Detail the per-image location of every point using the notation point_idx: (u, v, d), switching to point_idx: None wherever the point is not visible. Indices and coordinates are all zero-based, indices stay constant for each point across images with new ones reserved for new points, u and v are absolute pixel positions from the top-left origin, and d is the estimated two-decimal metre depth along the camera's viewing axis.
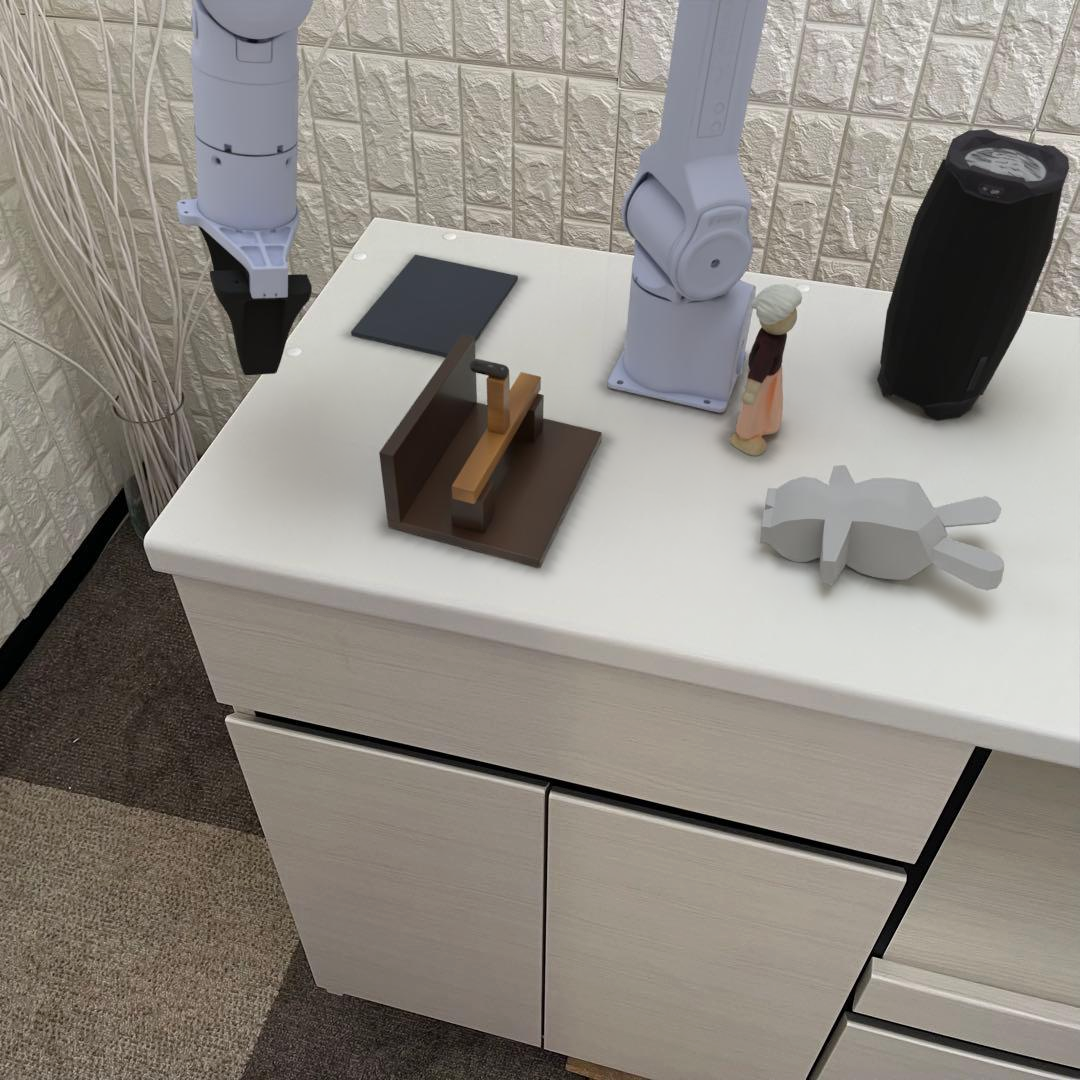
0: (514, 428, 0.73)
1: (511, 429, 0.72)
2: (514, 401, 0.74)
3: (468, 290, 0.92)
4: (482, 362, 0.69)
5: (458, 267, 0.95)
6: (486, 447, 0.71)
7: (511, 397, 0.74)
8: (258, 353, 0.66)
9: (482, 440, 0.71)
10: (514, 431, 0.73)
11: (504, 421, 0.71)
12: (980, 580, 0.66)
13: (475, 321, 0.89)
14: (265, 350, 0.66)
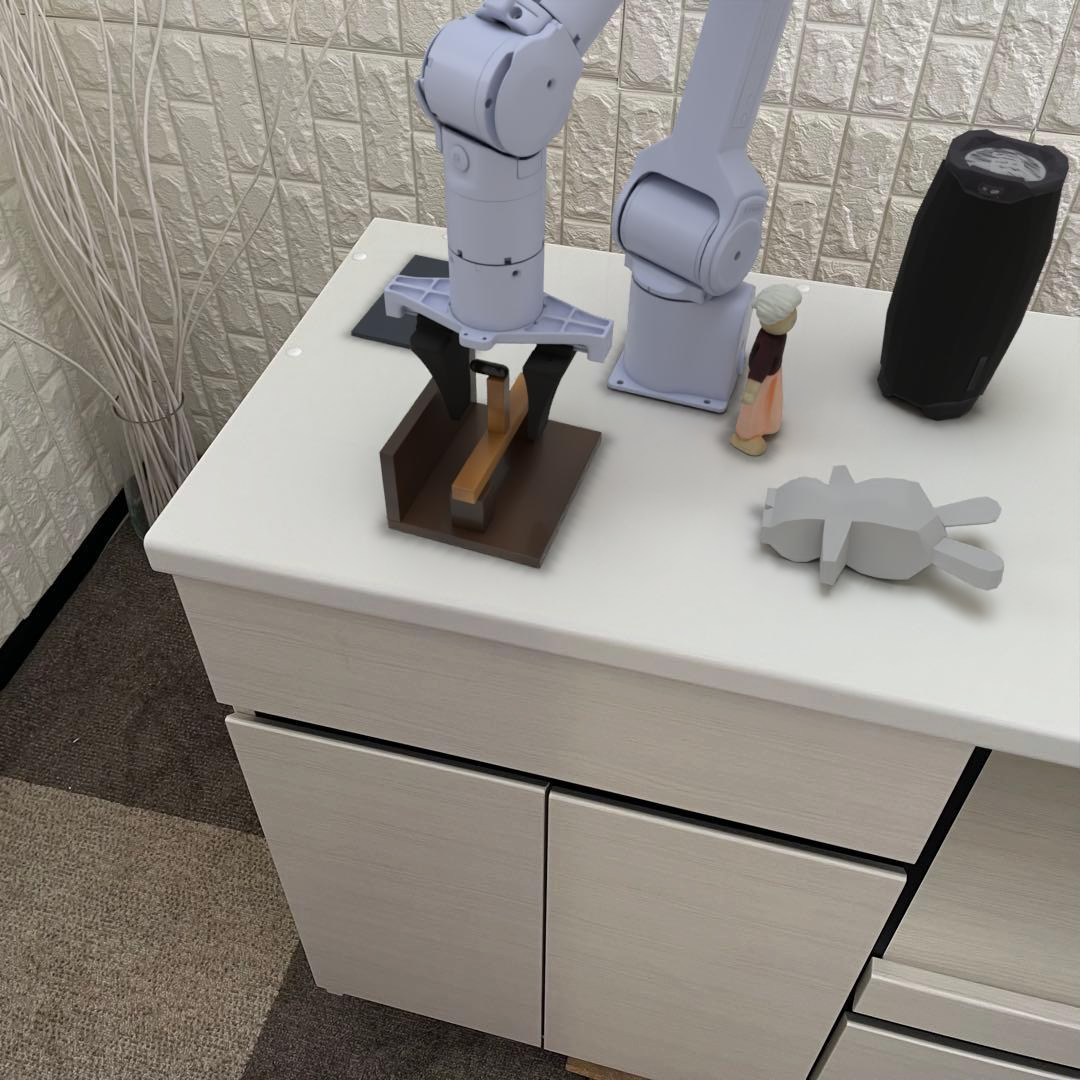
0: (514, 428, 0.73)
1: (511, 429, 0.72)
2: (514, 401, 0.74)
3: None
4: (482, 362, 0.69)
5: None
6: (486, 447, 0.71)
7: (511, 397, 0.74)
8: (544, 413, 0.70)
9: (482, 440, 0.71)
10: (514, 431, 0.73)
11: (504, 421, 0.71)
12: (980, 580, 0.66)
13: None
14: (546, 407, 0.70)
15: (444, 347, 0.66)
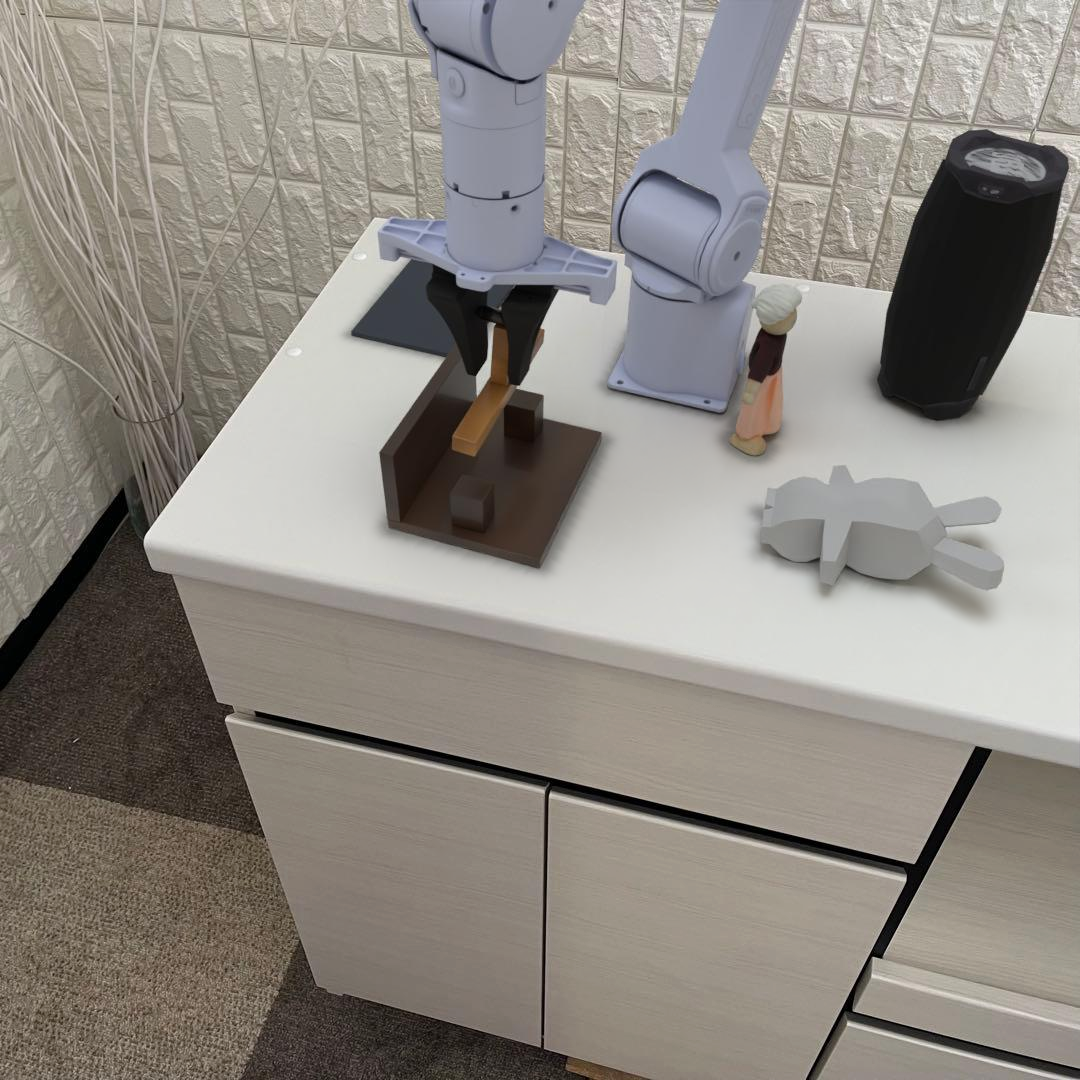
0: None
1: None
2: None
3: None
4: (490, 309, 0.66)
5: None
6: (488, 398, 0.68)
7: None
8: (525, 358, 0.67)
9: (484, 391, 0.69)
10: None
11: None
12: (980, 580, 0.66)
13: None
14: (528, 351, 0.68)
15: (462, 295, 0.63)
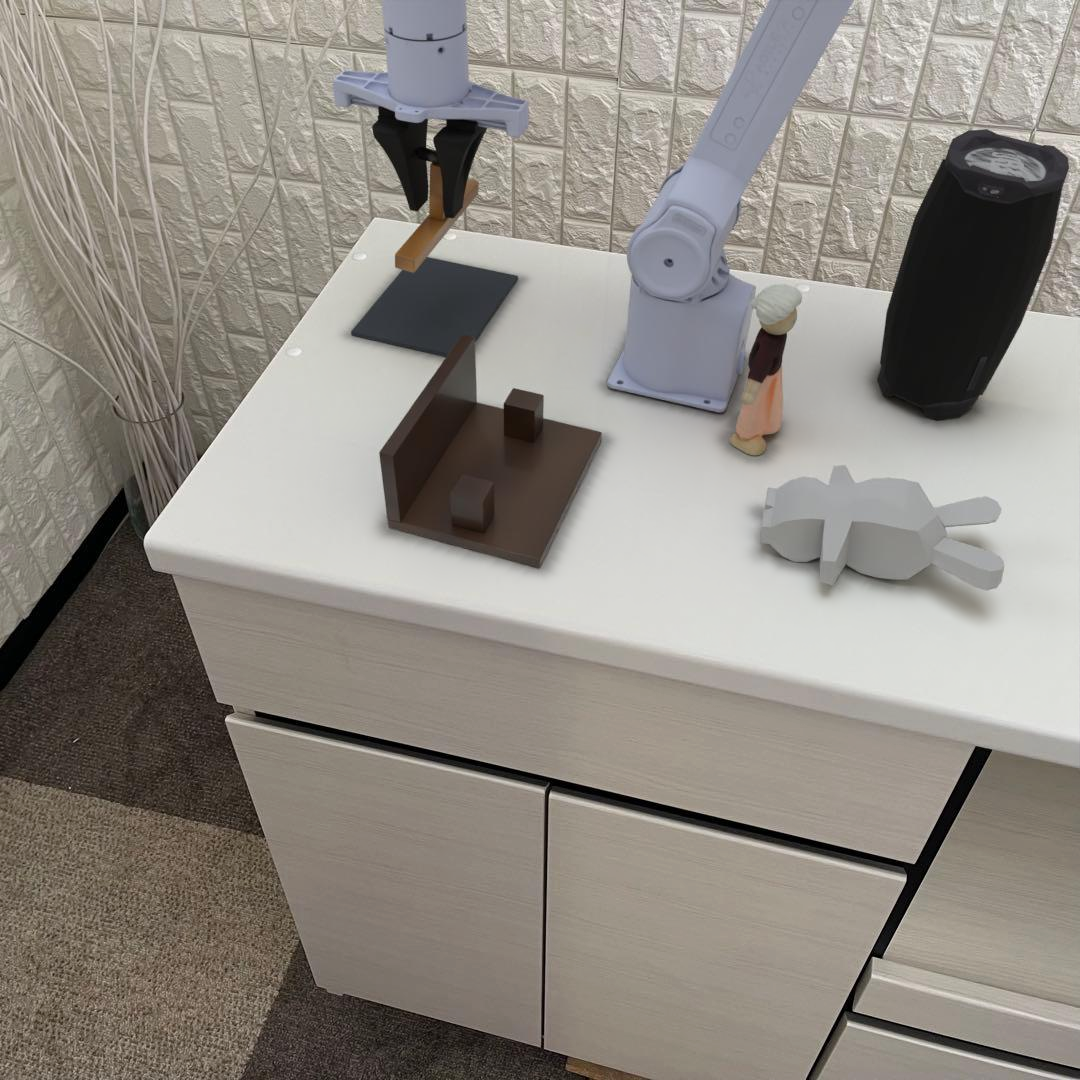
0: (452, 219, 0.83)
1: (449, 218, 0.83)
2: None
3: (468, 290, 0.92)
4: (427, 149, 0.79)
5: (458, 267, 0.95)
6: (427, 229, 0.81)
7: None
8: (458, 193, 0.81)
9: (423, 223, 0.82)
10: (452, 222, 0.84)
11: None
12: (980, 580, 0.66)
13: (475, 321, 0.89)
14: (460, 188, 0.81)
15: (402, 133, 0.76)
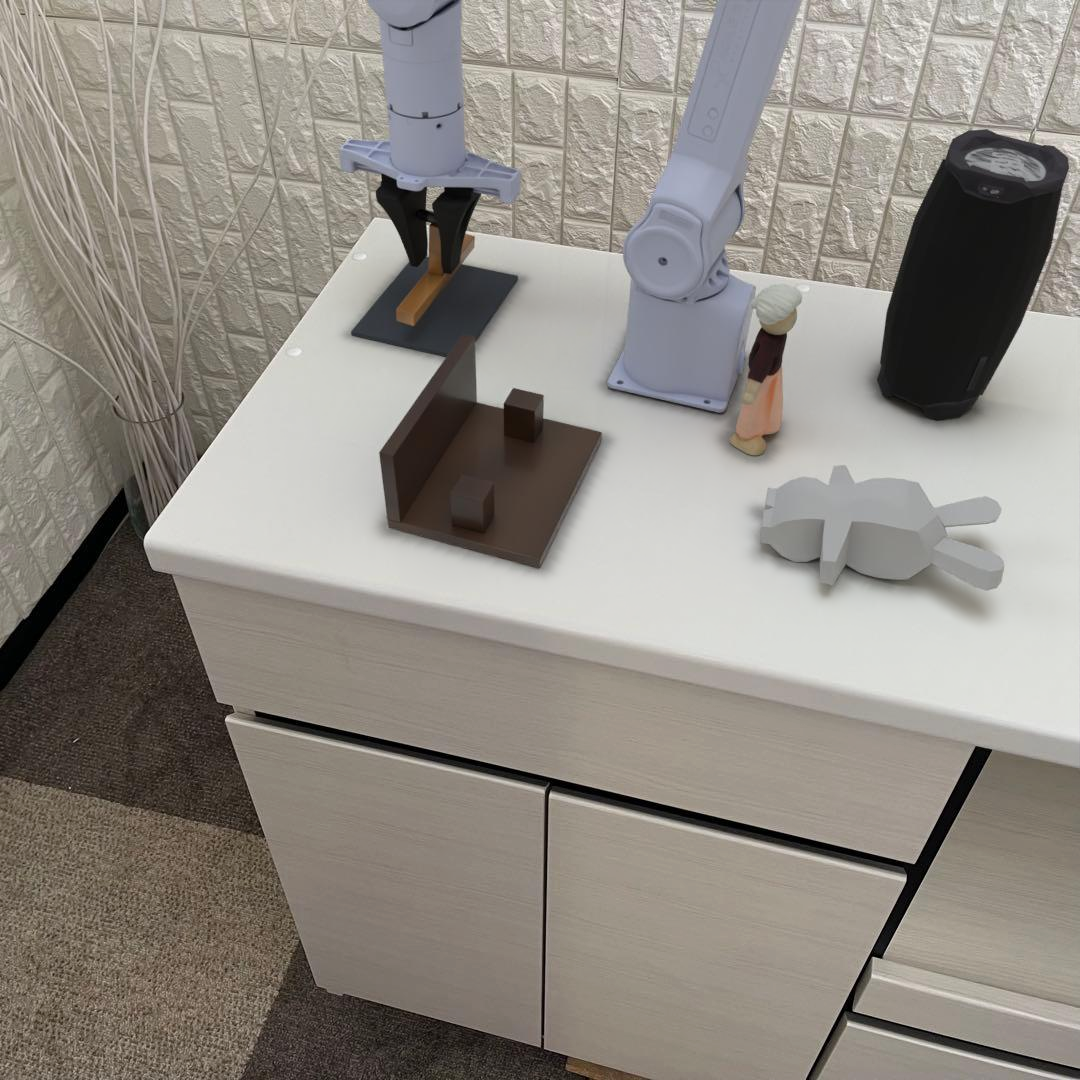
0: None
1: None
2: None
3: (468, 290, 0.92)
4: (426, 211, 0.85)
5: None
6: (426, 283, 0.87)
7: None
8: (455, 251, 0.87)
9: (423, 278, 0.88)
10: (450, 275, 0.90)
11: None
12: (980, 580, 0.66)
13: (475, 321, 0.89)
14: (457, 246, 0.87)
15: (403, 198, 0.82)
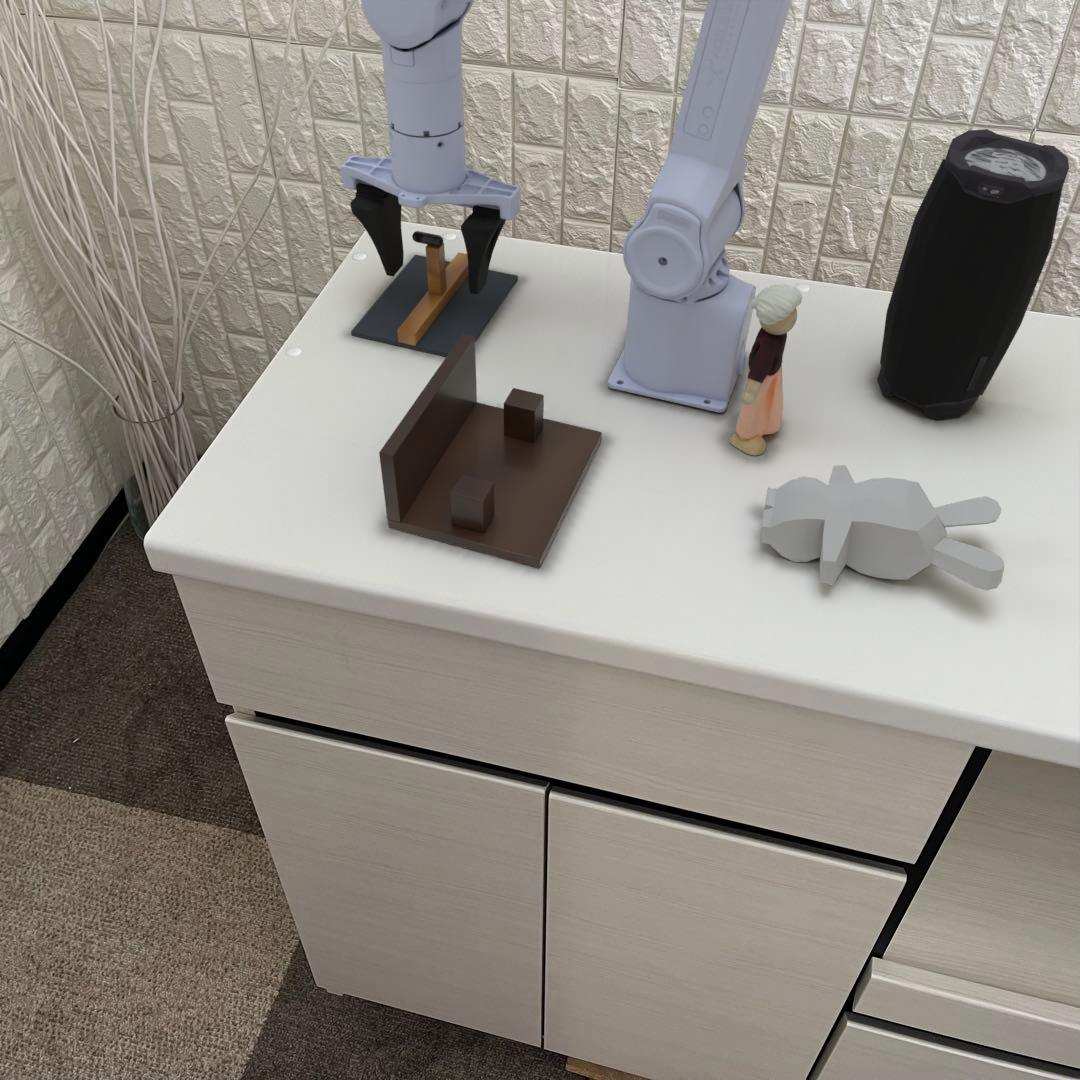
0: (450, 292, 0.91)
1: (447, 292, 0.90)
2: (451, 272, 0.92)
3: (468, 290, 0.92)
4: (422, 233, 0.86)
5: None
6: (426, 304, 0.89)
7: (449, 269, 0.92)
8: (482, 272, 0.87)
9: (423, 299, 0.89)
10: (450, 295, 0.91)
11: (441, 284, 0.89)
12: (980, 580, 0.66)
13: (475, 321, 0.89)
14: (484, 267, 0.87)
15: (377, 209, 0.84)
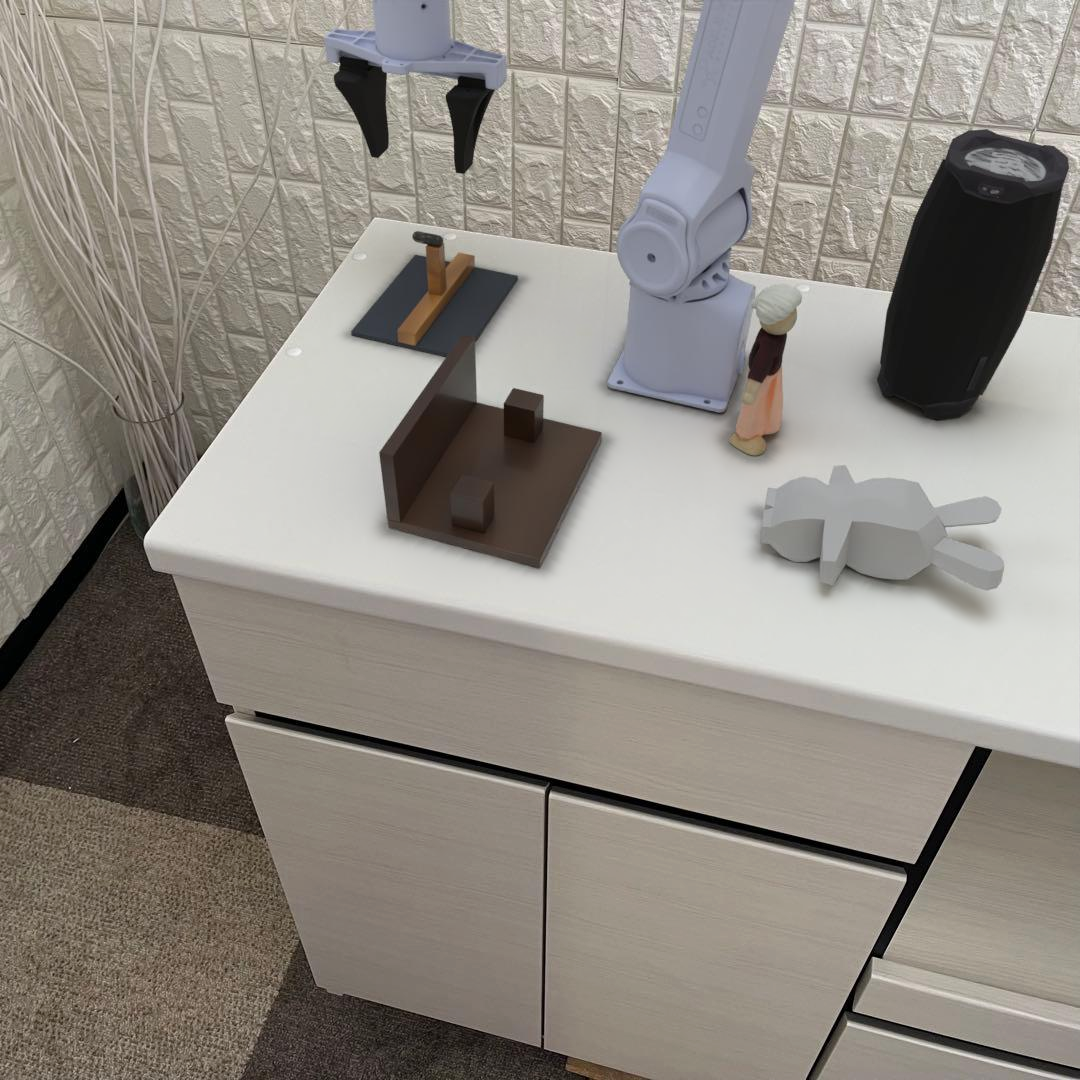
0: (450, 292, 0.91)
1: (447, 292, 0.90)
2: (451, 272, 0.92)
3: (468, 290, 0.92)
4: (422, 233, 0.86)
5: None
6: (426, 304, 0.89)
7: (449, 269, 0.92)
8: (468, 150, 0.85)
9: (423, 299, 0.89)
10: (450, 295, 0.91)
11: (441, 284, 0.89)
12: (980, 580, 0.66)
13: (475, 321, 0.89)
14: (470, 145, 0.86)
15: (361, 81, 0.82)
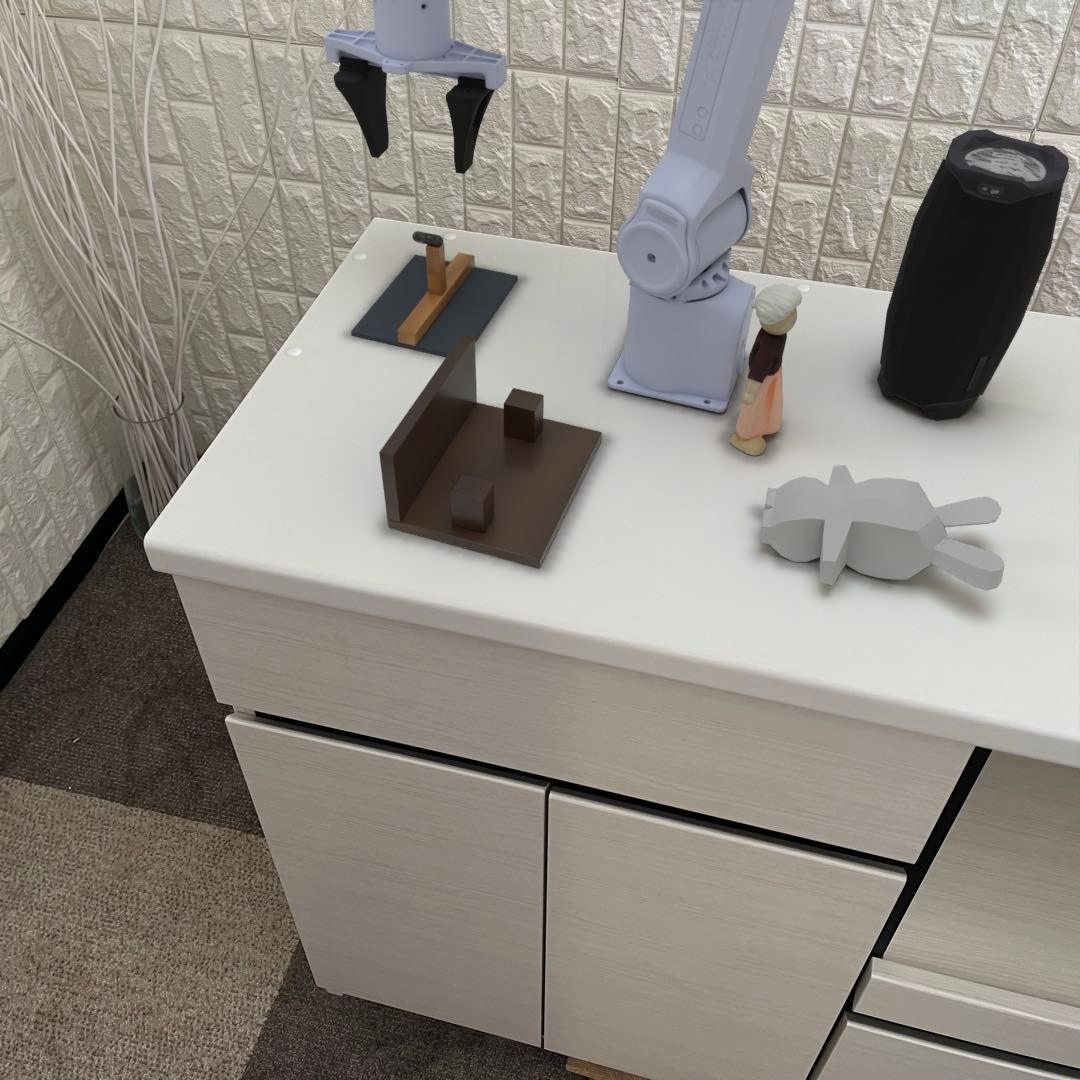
0: (450, 292, 0.91)
1: (447, 292, 0.90)
2: (451, 272, 0.92)
3: (468, 290, 0.92)
4: (422, 233, 0.86)
5: None
6: (426, 304, 0.89)
7: (449, 269, 0.92)
8: (468, 150, 0.85)
9: (423, 299, 0.89)
10: (450, 295, 0.91)
11: (441, 284, 0.89)
12: (980, 580, 0.66)
13: (475, 321, 0.89)
14: (470, 145, 0.86)
15: (361, 81, 0.82)
